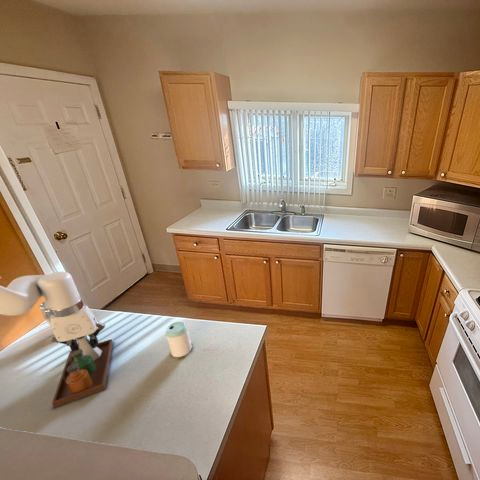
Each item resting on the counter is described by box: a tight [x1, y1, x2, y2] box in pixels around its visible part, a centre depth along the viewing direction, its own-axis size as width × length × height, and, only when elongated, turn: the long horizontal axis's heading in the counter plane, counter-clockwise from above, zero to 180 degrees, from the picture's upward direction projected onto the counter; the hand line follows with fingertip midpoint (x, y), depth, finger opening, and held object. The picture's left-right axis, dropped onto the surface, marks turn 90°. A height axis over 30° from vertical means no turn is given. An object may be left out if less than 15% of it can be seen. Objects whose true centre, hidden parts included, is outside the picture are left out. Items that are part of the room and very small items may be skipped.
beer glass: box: [38, 300, 52, 328], centre depth 101 cm, size 7×7×15 cm
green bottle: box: [71, 349, 96, 375], centre depth 86 cm, size 5×5×9 cm
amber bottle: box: [66, 364, 93, 394], centre depth 81 cm, size 5×5×9 cm
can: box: [165, 321, 193, 358], centre depth 96 cm, size 7×7×12 cm
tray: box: [51, 339, 114, 408], centre depth 88 cm, size 22×12×2 cm, turn 31°
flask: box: [75, 335, 102, 361], centre depth 91 cm, size 7×7×10 cm
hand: (86, 347), depth 91 cm, fingers open, 4 cm apart
